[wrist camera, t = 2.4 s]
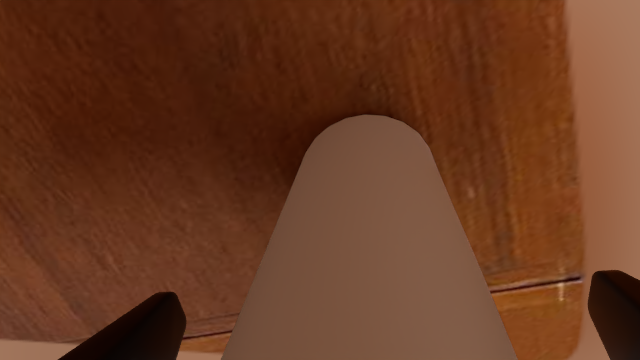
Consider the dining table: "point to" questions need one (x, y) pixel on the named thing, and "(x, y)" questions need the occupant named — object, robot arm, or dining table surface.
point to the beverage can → (369, 260)
